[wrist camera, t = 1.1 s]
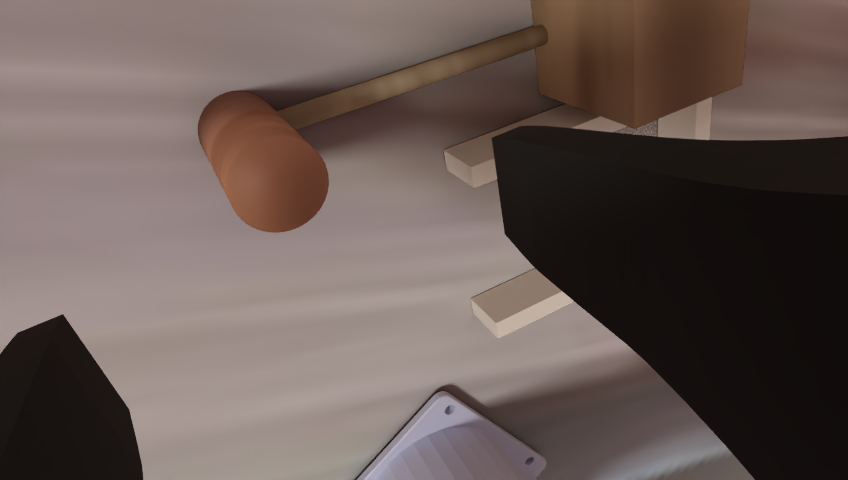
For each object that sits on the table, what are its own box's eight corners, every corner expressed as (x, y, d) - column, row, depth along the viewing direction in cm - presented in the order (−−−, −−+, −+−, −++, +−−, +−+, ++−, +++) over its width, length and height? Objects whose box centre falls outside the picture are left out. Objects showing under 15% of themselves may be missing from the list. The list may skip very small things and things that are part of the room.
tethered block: (633, -67, 22) (755, -66, 18) (633, 59, 24) (741, 84, 20) (170, 70, 17) (194, 112, 13) (227, 208, 19) (262, 281, 15)
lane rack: (687, -393, 18) (745, -425, 16) (669, 220, 29) (703, 237, 27) (350, -359, 15) (381, -394, 13) (473, 313, 26) (498, 338, 24)
